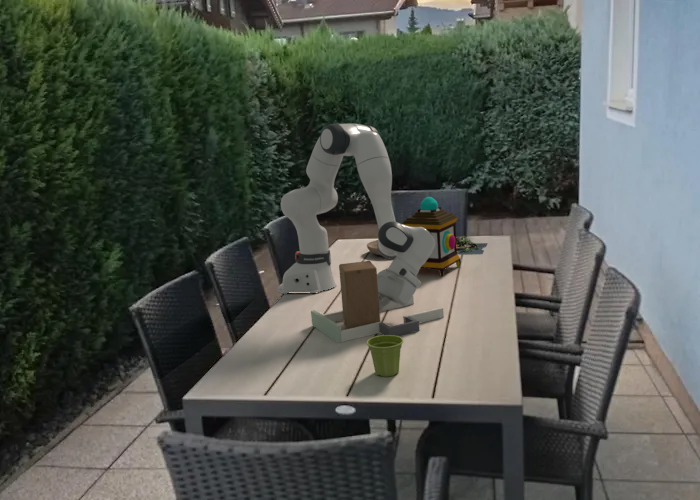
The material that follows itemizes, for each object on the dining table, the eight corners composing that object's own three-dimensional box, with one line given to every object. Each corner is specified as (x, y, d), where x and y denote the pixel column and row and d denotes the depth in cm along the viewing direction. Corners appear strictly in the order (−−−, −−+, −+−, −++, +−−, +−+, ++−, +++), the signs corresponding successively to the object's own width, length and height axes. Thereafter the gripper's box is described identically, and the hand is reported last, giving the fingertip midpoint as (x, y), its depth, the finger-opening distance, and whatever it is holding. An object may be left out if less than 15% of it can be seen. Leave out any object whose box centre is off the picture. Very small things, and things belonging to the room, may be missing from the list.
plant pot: (367, 367, 182) (364, 336, 180) (402, 363, 183) (400, 333, 181) (371, 381, 173) (368, 349, 171) (408, 377, 174) (406, 345, 172)
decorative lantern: (465, 266, 279) (462, 192, 273) (444, 278, 263) (441, 201, 257) (421, 263, 290) (417, 192, 284) (399, 274, 274) (394, 200, 268)
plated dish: (409, 258, 303) (408, 242, 301) (419, 245, 329) (418, 230, 328) (489, 258, 293) (489, 241, 292) (493, 244, 320) (493, 229, 318)
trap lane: (411, 303, 235) (411, 289, 234) (443, 317, 218) (442, 302, 217) (312, 325, 220) (310, 310, 218) (338, 342, 202) (336, 326, 201)
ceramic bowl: (403, 261, 296) (403, 250, 295) (357, 257, 309) (357, 247, 308) (428, 249, 315) (427, 238, 314) (384, 246, 328) (383, 236, 327)
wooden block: (381, 330, 210) (376, 267, 206) (349, 335, 208) (343, 271, 204) (374, 321, 219) (370, 260, 215) (343, 325, 218) (338, 263, 214)
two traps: (370, 306, 235) (370, 298, 234) (419, 330, 207) (418, 321, 207) (343, 312, 231) (342, 304, 230) (389, 338, 203) (388, 328, 202)
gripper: (378, 262, 228) (355, 296, 226) (411, 273, 209) (385, 310, 207) (391, 272, 230) (368, 306, 228) (424, 285, 212) (399, 321, 210)
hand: (376, 308), depth 218 cm, fingers closed
